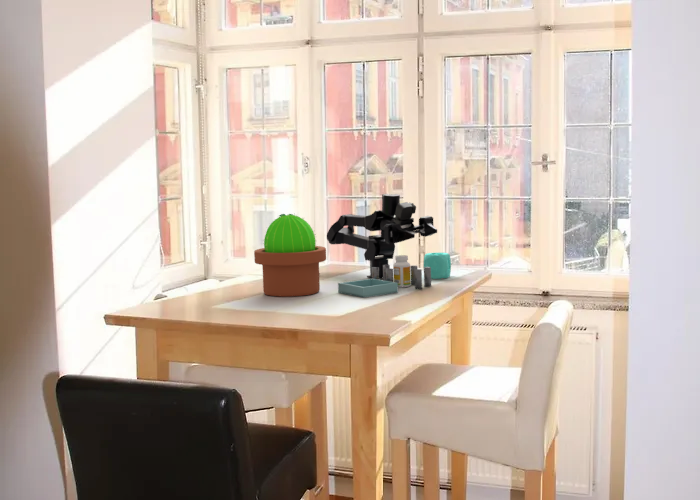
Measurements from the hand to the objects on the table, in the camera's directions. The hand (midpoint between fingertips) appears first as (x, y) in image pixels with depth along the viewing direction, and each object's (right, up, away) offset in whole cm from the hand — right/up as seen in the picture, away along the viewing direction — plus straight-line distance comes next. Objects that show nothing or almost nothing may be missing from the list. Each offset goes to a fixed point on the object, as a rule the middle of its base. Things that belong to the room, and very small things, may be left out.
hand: (425, 233), depth 281 cm
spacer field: (-7, -17, +2) cm, 18 cm away
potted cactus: (-42, -19, -5) cm, 46 cm away
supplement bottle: (-7, -17, +2) cm, 18 cm away
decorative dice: (+6, -15, +19) cm, 25 cm away
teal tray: (-18, -18, -9) cm, 28 cm away
